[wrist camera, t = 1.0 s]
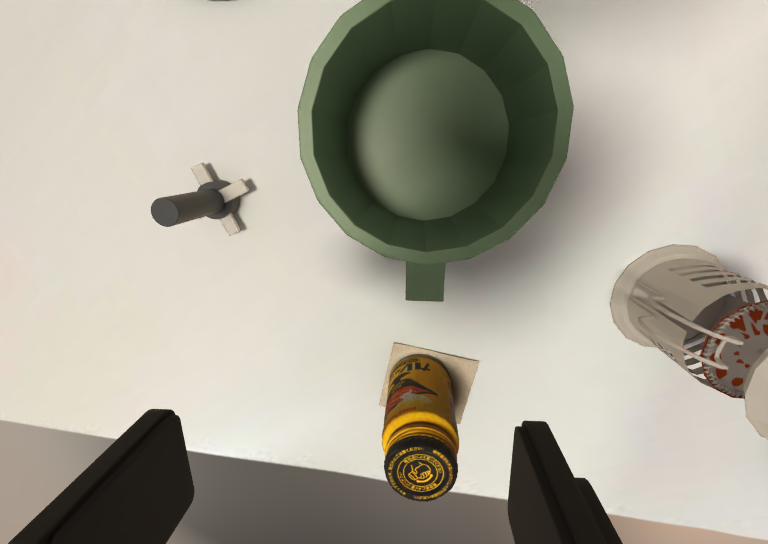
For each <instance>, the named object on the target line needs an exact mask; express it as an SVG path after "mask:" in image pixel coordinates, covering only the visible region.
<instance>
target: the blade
mask: <svg viewBox="0 0 768 544" xmlns="http://www.w3.org/2000/svg"><path fill="white" fill-rule="evenodd" d="M191 170H192V172H193V173H194V175H195V177H196V179H197V180H198V182H199V184H200V187H199V189H198V191H197V192H191V193H186V194H180V195H174V196H169V197H163V198H159V199H156V200H155V201H154V202H153V204H152V206H151V214H152V216H153V218H154V220H155V221H156V222H157V223H158V224H160V225H162V226H166V227H170V226H174V225H177V224H180V223H184V222H188V221H190V220H194V219H197V218H200V217H204V216H207V217H209V218H212V219H220V221H221V222H222V224H223V226H224V228H225V229H226V231H227V233H228V235H229V236H231V235H233V234H235V233H237V232H239V231H241V229H240V227H239V226H238V224H237V222H236V220H235V219H234V217H233V215H232V214H234V213H235V212H236V211H237V209H238V207H239V203H240V199H239V196H240V195H242V194H244V193H246V192H248V191H249V189H248V188H247V186H246V184H245V182H244V180H243V179H240V180H238V181H236V182H234V183H233V184H230V183H228V182H225V181H213V179H212V178H211V176H210V174H209V172H208V170H207V169H206V167H205V165H204V163H200V164H198V165H196V166H194V167H192V168H191Z"/></svg>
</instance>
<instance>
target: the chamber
mask: <svg viewBox="0 0 768 544" xmlns="http://www.w3.org/2000/svg"><path fill="white" fill-rule="evenodd" d="M573 107H574V106H573V101H572V96H571V92H570V87H569V82H568V77H567V73H566V68H565V63H564V58H563V56H562V54H561V52H560V50H559V49H558V47H557V46H556V44H555V43H554V41H553V40H552V38H551V37H550V35H549V34H548V32H547V31H546V29H545V27H544V26H543V24H542V23H541V21H540V20H539V18H538V17H537V15H536V14H535V12H534V11H533V10H532V9H530V8H529V7H527V6H526V5H524V4H523V3H521V2H520V1H518V0H362V1H361V2H359V3H358V4H356V5H355V6H353V7H352V8H351V9H349V10H348V11H346V12H345V13H344V14H342V16H340V17H339V19H338V20H337V22H336V23H335V25H334V26H333V28H332V29H331V31H330V32H329V34H328V35H327V36H326V38H325V39H324V41H323V42H322V44H321V45H320V47H319V48H318V50H317V51H316V53H315V54H314V56H313V57H312V60H311V62H310V65H309V69H308V73H307V76H306V80H305V84H304V88H303V91H302V95H301V99H300V102H299V106H298V124H299V141H300V157H301V160H302V163H303V165H304V168H305V170H306V173H307V175H308V178H309V180H310V183H311V185H312V188H313V190H314V193H315V195H316V198H317V200H318V201H319V203H320V204H321V205H322V206H323V208H324V209H325V210H326V211H327V212H328V213H329V215H330V216H331V217H332V218H333V219H334V220H335V222H336V223H337V224H338V225H339V226H340V227H341V229H342V230H343V231H344V232H345V233H346V234H347V235H348V236H350V237H351V238H353V239H355V240H356V241H358V242H360V243H362V244H363V245H365V246H367V247H368V248H370V249H372V250H374V251H375V252H377V253H379V254H380V255H382V256H384V257H388V258H393V259H398V260H403V261H406V300H411V301H443V299H444V281H445V262H451V261H458V260H465V259H469V258H472V257H474V256H476V255H478V254H480V253H482V252H484V251H486V250H488V249H490V248H492V247H494V246H496V245H498V244H500V243H502V242H504V241H506V240H508V239H510V237H512V236H513V235H514V234H515V233H516V232H517V231H518V230H519V229H520V228H521V227H522V226H523V225H524V224H525V223H526V222H527V221H528V220H529V219H530V218H531V217H532V216H533V215H534V214H535V213H536V212H537V211H538V210H539V209H540V208H541V207H542V206H543V204H544V203H545V201H546V199H547V197H548V195H549V193H550V191H551V189H552V187H553V185H554V183H555V181H556V179H557V177H558V175H559V173H560V171H561V169H562V167H563V165H564V163H565V161H566V158H567V152H568V144H569V137H570V130H571V123H572V115H573Z"/></svg>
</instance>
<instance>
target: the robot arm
mask: <svg viewBox="0 0 768 544" xmlns="http://www.w3.org/2000/svg"><path fill="white" fill-rule="evenodd" d="M193 497H194V486H193V481H192V476H191V471H190V466H189V461H188V456H187V451H186V446H185V441H184V436H183V431H182V426H181V421H180V418H179V416H177V415H175V412H174V411H173V410H168V409H150V410H148V411H147V412H146V413H145V414H144V415H142V416H141V417H140V418H139V419H138V420H137V421H136V422H135V423H134V424H133V425H132V426H131V427H130V428H129V429H128V430H127V431H126V432H125V433H124V434H123V435H121V436H120V437H119V438H118V439H117V440H116V441H115V442H114V443H113V444H112V445H111V446H110V447H109V448H108V449H107V450H106V451H105V452H104V453H103V454H102V455H101V456H99V457H98V458H97V459H96V460H95V461H94V462H93V463H92V464H91V465H90V466H89V467H88V468H87V469H86V470H85V471H84V472H83V473H82V474H81V475H79V476H78V477H77V478H76V479H75V480H74V481H73V482H72V483H71V484H70V485H69V486H68V487H67V488H66V489H65V490H64V491H63V492H62V493H61V494H59V496H58V497H56V498H55V500H53V501H52V502H51V503H50V504H49V505H48V506H47V507H46V508H45V509H44V510H43V511H42V512H41V513H40V514H39V515H37V516H36V517H35V518H34V519H33V520H32V521H31V522H30V523H29V524H28V525H27V526H26V527H25V528H24V529H23V530H22V531H21V532H20V533H18V535H16V536H15V537H14V538H13V539H12V540H11V541H10V542H9V543H8V544H166V542H167V541H168V539H169V537H170V536H171V535H172V533H173V532H174V530H175V528H176V527H177V525H178V524H179V522H180V521H181V519H182V518H183V516H184V514H185V513H186V511H187V510H188V508H189V506H190V505H191V503H192V501H193ZM508 516H509V521H510V526H511V529H512V533H513V537H514V541H515V544H622V542H621V540H620V538H619V536H618V534H617V532H616V531H615V529H614V527H613V525H612V523H611V521H610V519H609V517H608V516H607V514H606V512H605V510H604V508H603V506H602V504H601V503H600V501H599V499H598V497H597V495H596V493H595V491H594V490H593V488H592V486H591V485H590V483H589V482H588V480H586V479H585V478H574V476H573V474H572V472H571V470H570V468H569V466H568V464H567V462H566V460H565V458H564V456H563V454H562V452H561V450H560V448H559V446H558V444H557V442H556V440H555V438H554V436H553V434H552V432H551V430H550V428H549V426H548V424H547V423H546V422H544V421H523V423H522V427H519V426H516V427H515V432H514V442H513V453H512V464H511V475H510V486H509V497H508Z"/></svg>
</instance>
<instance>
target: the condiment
mask: <svg viewBox="0 0 768 544" xmlns="http://www.w3.org/2000/svg"><path fill="white" fill-rule="evenodd" d="M478 364H479V362H478V361H472V360H468V359H464V358H458V357H455V356H450V355H446V354H442V353H438V352H434V351H430V350H425V349H421V348H416V347H412V346H407V345H403V344H398V343H394V344H393V349H392V353H391V357H390V361H389V365H388V369H387V374H386V378H385V382H384V386H383V390H382V395H381V399H380V403H379V405H380V406H385V407H386V411H385V418H384V429H383V433H382V446H383V450H384V452H385V461H384V470H385V474H386V478H387V480H388V482H389V483H390V485H391V486H392V488H393V489H394V490H395V491H396V492H397V493H399V494H400V495H402V496H404V497H406V498H408V499H411V500H416V501H430V500H434V499H437V498H439V497H441V496H443V495H444V494H445V493H447V492H448V491H449V490H450V489H452V487H453V485H454V484H455V481H456V478H457V473H458V464H457V453H458V450H459V437H458V430H457V424H460V422H461V419H462V415H463V412H464V408H465V405H466V402H467V398H468V395H469V392H470V389H471V386H472V383H473V380H474V377H475V373H476V371H477V368H478ZM456 423H457V424H456Z"/></svg>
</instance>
